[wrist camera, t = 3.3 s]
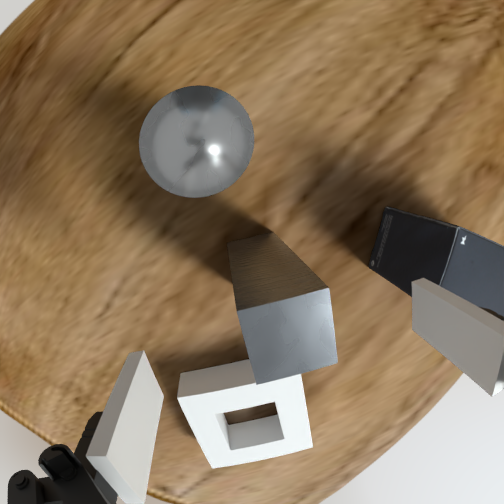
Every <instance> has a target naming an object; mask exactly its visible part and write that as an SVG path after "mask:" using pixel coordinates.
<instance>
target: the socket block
mask: <svg viewBox="0 0 504 504" xmlns="http://www.w3.org/2000/svg"><path fill="white" fill-rule="evenodd" d="M177 399H178V401H179V404H180V406H181V408H182V410H183V412H184V414H185V416H186V418H187V420H188V423H189V425H190V427H191V429H192V431H193V433H194V435H195V437H196V439H197V441H198V442H199V444H200V446H201V448H202V450H203V452H204V454H205V456H206V458H207V460H208V461H209V463H210V465H211V467H212V468H219V467H225V466H232V465H238V464H243V463H249V462H254V461H259V460H263V459H268V458H273V457H277V456H281V455H285V454H289V453H293V452H297V451H301V450H305V449H308V448H312V447H313V444H312V438H311V432H310V426H309V419H308V413H307V407H306V402H305V396H304V390H303V384H302V378H301V374H298V375H294V376H290V377H287V378H283V379H279V380H275V381H271V382H267V383H263V384H258V385H256V381H255V377H254V374H253V370H252V367H251V363H250V359H247V360H243V361H238V362H234V363H229V364H224V365H220V366H215V367H210V368H205V369H200V370H194V371H189V372H183V373H181V374H180V380H179V387H178V394H177ZM271 402H275V405H276V409H277V413H278V414H277V415H273V416H269V417H265V418H260V419H256V420H251V421H246V422H241V423H236V424H231V425H228V423H227V421H226V418H225V415H224V413H225V412H230V411H235V410H240V409H245V408H249V407H254V406H258V405H263V404H267V403H271Z"/></svg>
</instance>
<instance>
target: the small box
mask: <svg viewBox="0 0 504 504" xmlns="http://www.w3.org/2000/svg"><path fill="white" fill-rule="evenodd" d="M368 267H369V268H370V269H372V270H373V271H375V272H376V273H378V274H379V275H381V276H382V277H384V278H385V279H387V280H388V281H390V282H391V283H392V284H394V285H395V286H397V287H398V288H400V289H401V290H403V291H404V292H405V293H407V294H408V295H410V296H411V297H412V282H413V281H415V280H418V279H421V278H425V279H427V280H429V281H431V282H433V283H435V284H437V285H438V286H440V287H442V288H444V289H446V290H448V291H450V292H452V293H454V294H455V295H457V296H459V297H461V298H463V299H465V300H466V301H468V302H470V303H472V304H474V305H476V306H477V307H483V308H487V309H491V310H492V311H494V312H496V313H498V315H502V316H503V317H504V246H502V245H500V244H498V243H496V242H494V241H492V240H489V239H487V238H485V237H483V236H481V235H479V234H476V233H474V232H471V231H469V230H467V229H465V228H462V227H460V226H457V225H453V224H450V223H446V222H442V221H439V220H435V219H431V218H428V217H424V216H419V215H416V214H412V213H409V212H405V211H402V210H398V209H395V208H392V207H388V206H387V207H386V208H385V210H384V212H383V218H382V221H381V225H380V229H379V232H378V236H377V239H376V242H375V246H374V248H373V250H372V255H371V258H370V262H369V266H368Z"/></svg>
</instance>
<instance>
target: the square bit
mask: <svg viewBox="0 0 504 504" xmlns="http://www.w3.org/2000/svg"><path fill="white" fill-rule="evenodd" d="M227 249H228V256H229V262H230V269H231V276H232V283H233V290H234V296H235V303H236V309H237V314H238V318H239V322H240V325H241V329H242V333H243V337H244V341H245V344H246V348H247V352H248V355H249V359H250V363H251V367H252V370H253V374H254V377H255V381H256V385H258V384H263V383H267V382H271V381H275V380H279V379H283V378H287V377H290V376H294V375H298V374H302V373H305V372H309V371H312V370H316V369H319V368H322V367H326V366H329V365H332V364H335V363H338V361H337V351H336V341H335V332H334V323H333V315H332V307H331V299H330V292H329V287H328V286H327V285H326V284H325V283H324V282H323V281H322V280H321V279H320V278H319V277H318V276H317V275H316V274H315V273H314V272H313V271H312V270H311V269H310V268H309V267H308V266H307V265H306V264H305V263H304V262H303V261H302V260H301V259H300V258H299V257H298V256H297V255H296V254H295V253H294V252H293V251H292V250H291V249H290V248H289V247H288V246H287V245H286V244H285V243H284V242H283V241H282V240H281V239H280V238H279V237H278V236H277V235H276V234H275V233H274V232H270V233H266V234H262V235H257V236H253V237H249V238H245V239H240V240H236V241H232V242H228V243H227Z"/></svg>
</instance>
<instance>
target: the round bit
mask: <svg viewBox="0 0 504 504" xmlns="http://www.w3.org/2000/svg"><path fill="white" fill-rule="evenodd" d="M253 148H254V131H253V126H252V123H251V120H250V118H249V116H248V114H247V112H246V110H245V109H244V107H243V106H242V105H241V104H240V103H239V102H238V101H237V100H236V99H235V98H234V97H232V96H231V95H229V94H228V93H226V92H224V91H222V90H220V89H217V88H213V87H209V86H189V87H184V88H181V89H178V90H175V91H173V92H171V93H169V94H168V95H166V96H164V97H163V98H162V99H161V100H159V101H158V102H157V103H156V104H155V105H154V106H153V107H152V109H151V110H150V111H149V113H148V114H147V116H146V118H145V120H144V122H143V125H142V128H141V132H140V138H139V150H140V156H141V160H142V163H143V165H144V167H145V169H146V171H147V173H148V174H149V176H150V177H151V178H152V179H153V180H154V181H155V182H156V183H157V184H158V185H159V186H160V187H162V188H163V189H165V190H167V191H169V192H170V193H173V194H176V195H178V196H183V197H191V198H197V197H206V196H210V195H213V194H216V193H218V192H221V191H223V190H224V189H226V188H228V187H229V186H231V185H232V184H233V183H234V182H235V181H236V180H237V179H238V178H239V177H240V176H241V175H242V174H243V172H244V171H245V169H246V168H247V166H248V164H249V162H250V159H251V157H252V153H253Z"/></svg>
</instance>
